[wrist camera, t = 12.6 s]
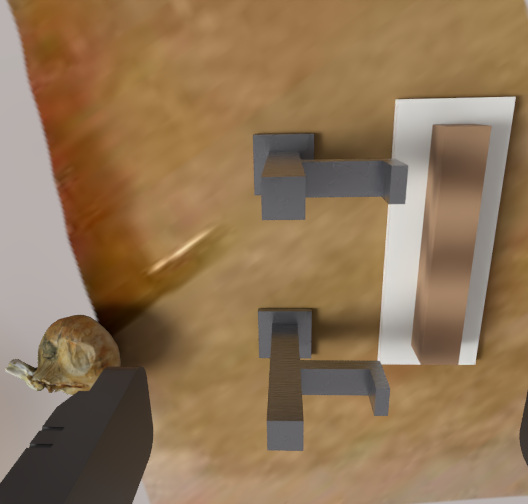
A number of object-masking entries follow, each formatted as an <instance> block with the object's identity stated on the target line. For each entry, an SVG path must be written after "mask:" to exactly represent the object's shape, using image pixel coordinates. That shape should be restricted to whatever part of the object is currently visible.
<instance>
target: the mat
mask: <svg viewBox="0 0 528 504" xmlns="http://www.w3.org/2000/svg"><path fill="white" fill-rule="evenodd" d="M515 99H516V97H482V98H438V99H396V102H395V116H394V131H393V145H392V158H395V159H397V160H399V161H401V162H403V163H405V164H407V165H408V177H407V189H406V201H405V204H388V217H387V231H386V245H385V260H384V274H383V288H382V303H381V317H380V331H379V346H378V361H380V362H381V364H420V362H419V360H418V358H417V356H416V354H415V352H414V350H413V349H412V347H411V340H412V330H413V319H414V309H415V299H416V289H417V279H418V269H419V258H420V248H421V238H422V228H423V218H424V208H425V197H426V187H427V177H428V167H429V157H430V146H431V136H432V126H433V125H434V124H480V125H489V126H492V127H491V134H490V141H489V149H488V156H487V163H486V170H485V177H484V184H483V192H482V199H481V206H480V213H479V220H478V227H477V234H476V242H475V249H474V256H473V263H472V270H471V277H470V285H469V292H468V299H467V306H466V313H465V320H464V328H463V335H462V342H461V349H460V356H459V363H458V365H475V362H476V356H477V349H478V343H479V336H480V330H481V323H482V316H483V310H484V303H485V297H486V290H487V283H488V277H489V270H490V264H491V257H492V251H493V244H494V237H495V231H496V224H497V218H498V211H499V204H500V198H501V191H502V185H503V178H504V172H505V165H506V158H507V152H508V145H509V139H510V132H511V125H512V119H513V112H514V106H515Z"/></svg>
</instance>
